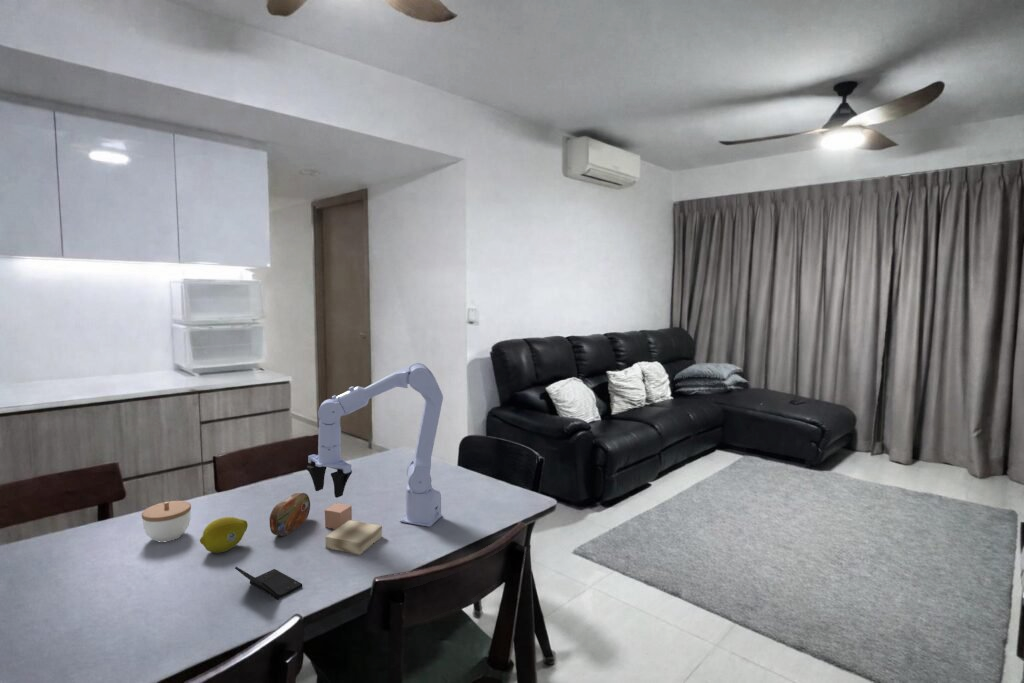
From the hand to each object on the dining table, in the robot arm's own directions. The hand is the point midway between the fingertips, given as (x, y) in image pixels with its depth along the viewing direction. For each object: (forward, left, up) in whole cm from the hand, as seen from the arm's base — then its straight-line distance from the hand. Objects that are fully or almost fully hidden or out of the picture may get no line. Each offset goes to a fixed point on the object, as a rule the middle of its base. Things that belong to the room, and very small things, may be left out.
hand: (328, 493), depth 144 cm
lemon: (+17, +19, -10) cm, 27 cm away
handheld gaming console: (-6, +29, -10) cm, 31 cm away
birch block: (-11, +5, -10) cm, 16 cm away
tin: (+10, +4, -10) cm, 14 cm away
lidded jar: (+36, +19, -10) cm, 42 cm away
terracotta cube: (-1, -2, -10) cm, 10 cm away
